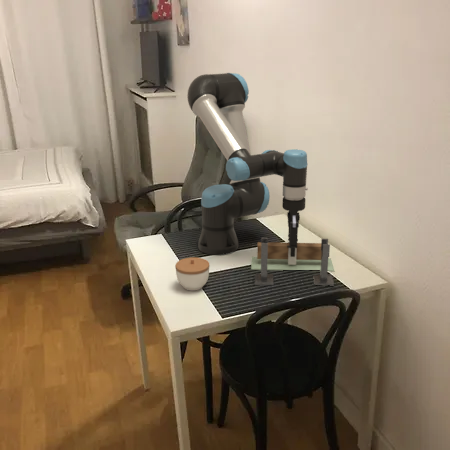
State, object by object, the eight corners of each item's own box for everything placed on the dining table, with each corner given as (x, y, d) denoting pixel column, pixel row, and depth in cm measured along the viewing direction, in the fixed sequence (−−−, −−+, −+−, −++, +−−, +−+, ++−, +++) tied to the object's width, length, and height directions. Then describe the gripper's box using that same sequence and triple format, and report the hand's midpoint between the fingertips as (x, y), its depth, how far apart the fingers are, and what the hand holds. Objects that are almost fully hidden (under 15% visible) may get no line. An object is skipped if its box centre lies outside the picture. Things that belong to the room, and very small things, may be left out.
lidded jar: (179, 296, 152) (178, 268, 149) (173, 281, 162) (172, 254, 158) (213, 291, 154) (213, 264, 151) (205, 276, 164) (205, 250, 161)
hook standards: (254, 284, 158) (254, 244, 153) (255, 276, 164) (255, 237, 159) (333, 286, 156) (336, 245, 151) (331, 278, 162) (334, 238, 157)
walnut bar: (257, 258, 171) (257, 245, 169) (257, 255, 174) (257, 242, 172) (327, 260, 169) (328, 246, 167) (326, 256, 172) (327, 243, 170)
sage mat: (251, 269, 169) (251, 268, 169) (252, 257, 178) (251, 256, 178) (334, 271, 166) (334, 270, 166) (330, 259, 176) (330, 258, 176)
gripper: (307, 204, 156) (304, 272, 164) (303, 190, 171) (301, 252, 179) (283, 204, 156) (281, 271, 165) (282, 190, 172) (280, 252, 180)
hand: (291, 261), depth 172 cm, fingers open, 3 cm apart
